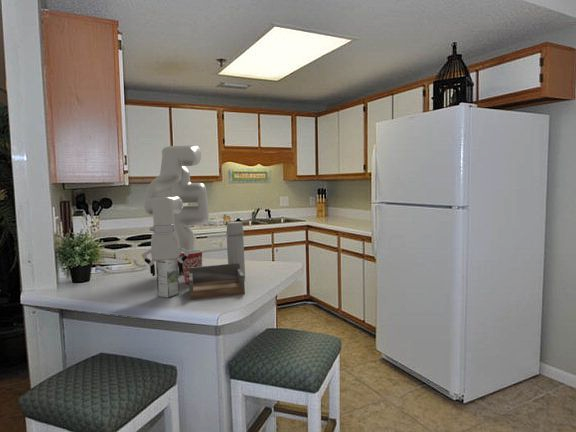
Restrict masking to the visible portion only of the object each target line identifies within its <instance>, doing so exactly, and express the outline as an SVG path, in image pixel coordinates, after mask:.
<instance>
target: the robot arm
mask: <svg viewBox="0 0 576 432" xmlns="http://www.w3.org/2000/svg"><path fill="white" fill-rule="evenodd" d="M161 156H162V157H161V163H160V164H161V165H160V169H159V170H160V172H159V173H160V174H159V175H157V176H156V177H155V178H154V179H152V181H151V182H150V183H149V184H148V186H147V187H146V190H145V195H144V202H143V203H144V204H143V205H144V211H145V213H146V214H147V215H149V216H152V221H153V226H150V227H149V231H152V232H153V233H152V234H151V238H150V239H151V240H150V249H148V250H147V251H145V252H143V253H142V254H141V257H142V259H143V260H144V262H145V263H147V264H148V265H149V270H150V271H149V272H150V274H151V275H152V277H154V276H156V264H155V263H156V261H159V260H172V259H177V260H178V261H179V267H178V275H183V274H182V272H181V271H183V262H184V261H185V260H186V258H187V256H188V254H189V250H196V242H195V241H196V239H195V233H194V232H193V230H192V229H191V228H190V227H192V226H194V227H195V226H204V225H206V224H208V223H209V205H208V203H209V202H208V191H207V187H206V185H205V184H204V183H202V182H191V175H190V171H189V169H188V168H187V167H195V166H197V165H199V164H200V162H201V159H202V151H201V149H200V147H199V145H170V146H169V145H168V146H165V147H164V148H162V150H161ZM168 188H172V189H171V190H172V192H171V193H172V195H158V194H159V193H161V192H162V191H164V190H166V189H168ZM193 203H194V204H197V205H184V204H193ZM181 252H184V253H185V255H184V256H183V258H182V257H180V254H181ZM148 255H151V257H150V258H151V259H150V258H148Z"/></svg>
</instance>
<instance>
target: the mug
mask: <svg viewBox="0 0 576 432" xmlns="http://www.w3.org/2000/svg"><path fill="white" fill-rule="evenodd" d="M184 255H185V253H184V252H181V254H180V257H182V258H183V256H184ZM200 266H203V250H202V249H195V250H189V254H188V256H187V258H186V260H185V261H184V262H183V271H181V272H182V274H181V275H183V279H184V284H186V285H189V267H200ZM178 267H179V261H178Z"/></svg>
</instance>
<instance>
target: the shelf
mask: <svg viewBox="0 0 576 432" xmlns="http://www.w3.org/2000/svg"><path fill="white" fill-rule="evenodd" d="M188 286H189V299H190V300H199V299H209V298H217V297H227V296H237V295H245V294H246V291H245V290H246V289H245V280H244V275H243V273H242V271H241V269H240V263H235V264H228V263H226V264H225V263H224V264H215V265H214V264H213V265H202V266H200V267H189V284H188Z"/></svg>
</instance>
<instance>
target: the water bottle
mask: <svg viewBox="0 0 576 432" xmlns="http://www.w3.org/2000/svg"><path fill="white" fill-rule="evenodd" d="M243 225H244V224H243V221H230V222H226V233H225V235H226V247H227V248H226V249H227V251H226V252H227V264H235V263H240V269H241V271H242V273H243V275H244V281H245V280H246V267H245V266H246V264H245V262H246V261H245V245H244V244H245V243H244V235H245V232H244V226H243Z"/></svg>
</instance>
